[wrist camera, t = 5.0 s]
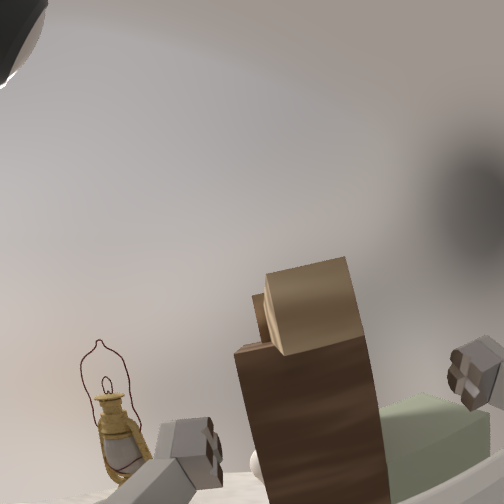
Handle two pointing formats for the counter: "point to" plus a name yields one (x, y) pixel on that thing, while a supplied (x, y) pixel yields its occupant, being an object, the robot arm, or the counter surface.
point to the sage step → (430, 443)
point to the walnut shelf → (315, 423)
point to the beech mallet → (308, 307)
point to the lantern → (119, 435)
